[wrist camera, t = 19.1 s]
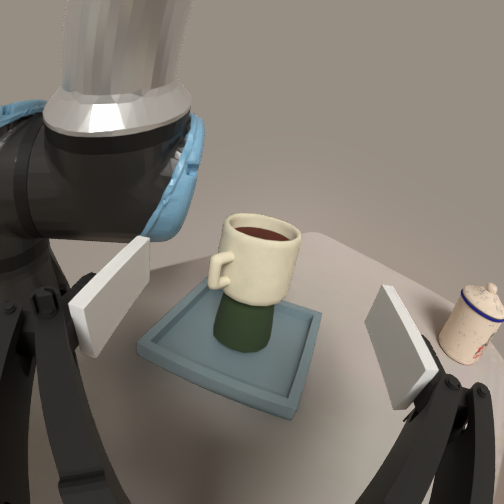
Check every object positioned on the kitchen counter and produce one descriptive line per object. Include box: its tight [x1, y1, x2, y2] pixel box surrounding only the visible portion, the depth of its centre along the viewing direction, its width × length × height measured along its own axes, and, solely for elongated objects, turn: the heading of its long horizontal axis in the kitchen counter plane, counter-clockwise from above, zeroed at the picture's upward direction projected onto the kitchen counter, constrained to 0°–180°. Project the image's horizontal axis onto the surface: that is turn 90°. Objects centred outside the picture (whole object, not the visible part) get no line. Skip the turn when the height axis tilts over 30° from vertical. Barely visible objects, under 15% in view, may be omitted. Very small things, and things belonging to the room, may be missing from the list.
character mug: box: [207, 213, 302, 353], centre depth 27 cm, size 11×7×13 cm, turn 135°
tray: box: [136, 277, 322, 420], centre depth 30 cm, size 16×16×2 cm
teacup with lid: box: [439, 283, 504, 365], centre depth 32 cm, size 12×9×12 cm
